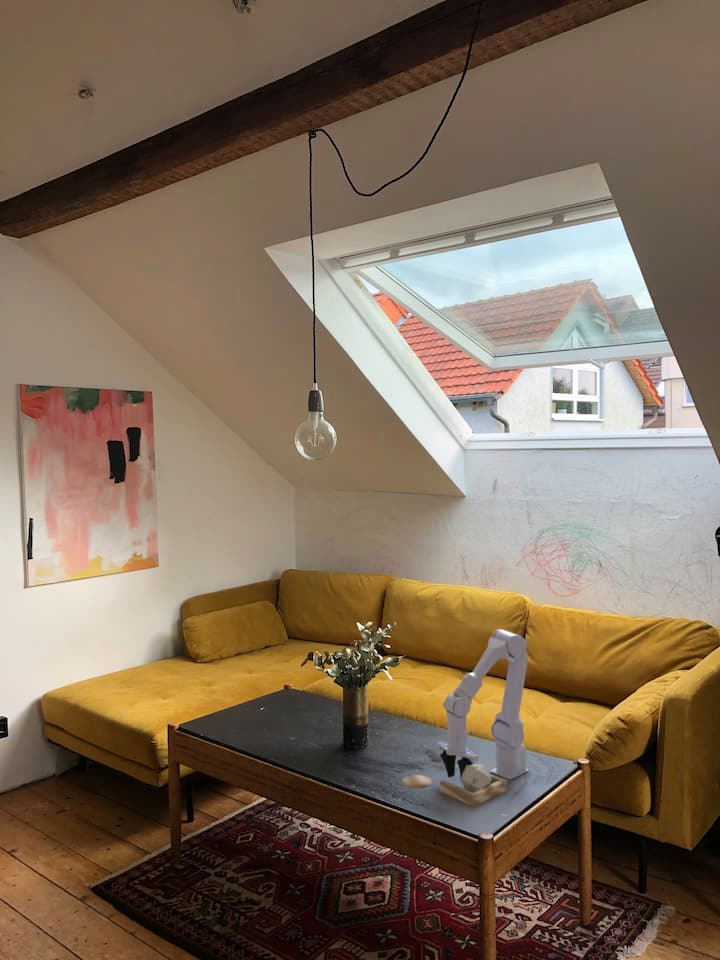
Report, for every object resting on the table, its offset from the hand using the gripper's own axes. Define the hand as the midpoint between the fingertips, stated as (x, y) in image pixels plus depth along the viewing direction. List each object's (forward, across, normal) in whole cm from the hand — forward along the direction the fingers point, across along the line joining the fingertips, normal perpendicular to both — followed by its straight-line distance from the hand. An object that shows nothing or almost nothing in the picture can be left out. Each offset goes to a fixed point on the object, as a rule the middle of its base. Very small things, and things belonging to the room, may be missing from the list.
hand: (457, 779), depth 234 cm
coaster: (+2, -10, -7) cm, 13 cm away
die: (+2, +7, 0) cm, 7 cm away
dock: (+2, +5, 0) cm, 5 cm away
